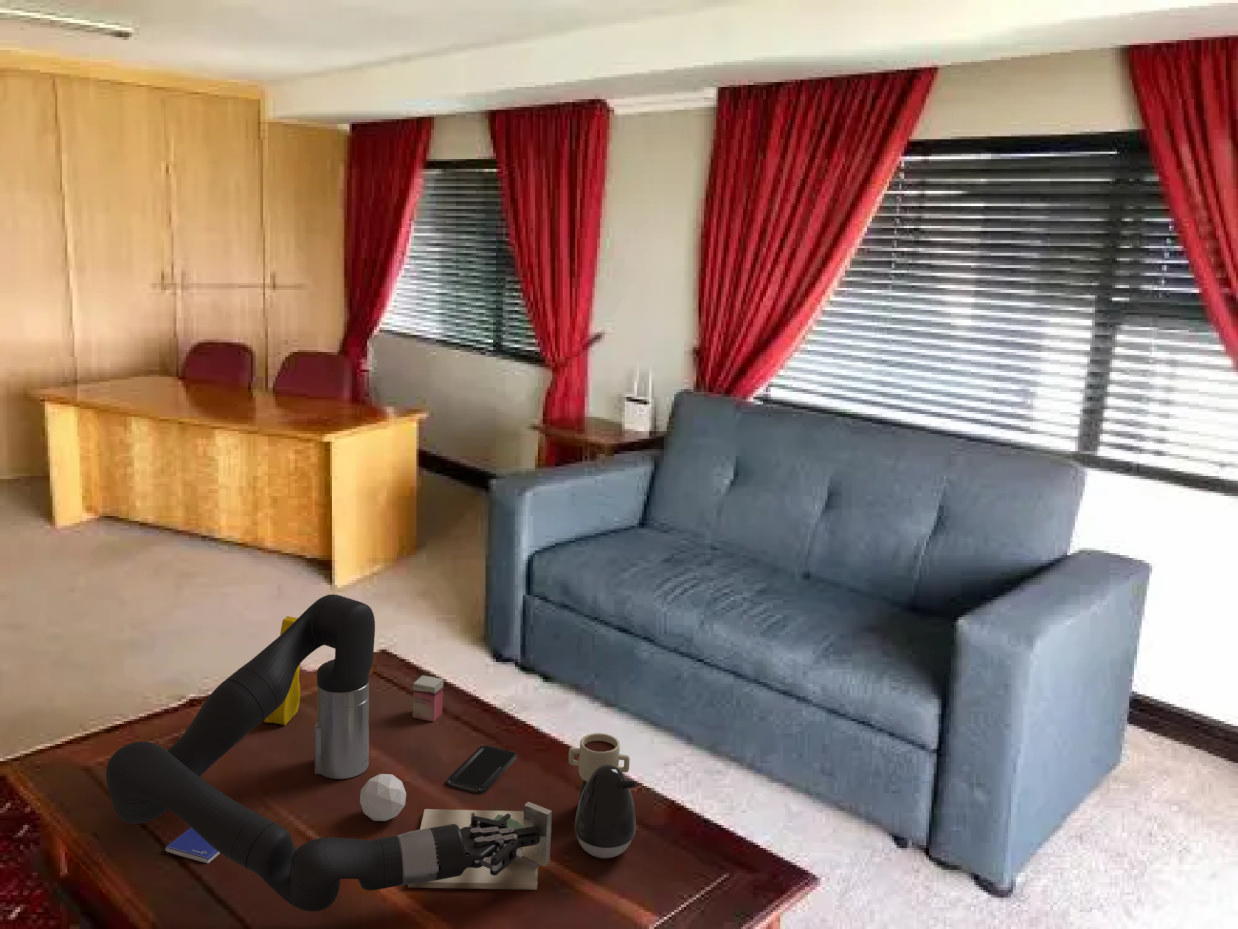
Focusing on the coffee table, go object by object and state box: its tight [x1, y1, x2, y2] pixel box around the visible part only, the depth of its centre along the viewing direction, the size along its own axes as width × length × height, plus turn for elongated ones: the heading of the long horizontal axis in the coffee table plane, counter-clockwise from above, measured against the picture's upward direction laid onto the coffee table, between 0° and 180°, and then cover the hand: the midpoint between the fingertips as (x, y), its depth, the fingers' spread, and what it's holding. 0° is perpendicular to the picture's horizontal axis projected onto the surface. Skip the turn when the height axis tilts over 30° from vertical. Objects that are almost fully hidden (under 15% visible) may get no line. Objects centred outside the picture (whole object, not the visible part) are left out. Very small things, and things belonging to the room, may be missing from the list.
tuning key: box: [498, 801, 553, 870], centre depth 167 cm, size 16×11×11 cm
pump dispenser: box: [574, 765, 638, 859], centre depth 170 cm, size 10×10×15 cm
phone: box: [446, 744, 517, 795], centre depth 193 cm, size 8×1×15 cm
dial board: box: [407, 808, 539, 891], centre depth 169 cm, size 20×20×1 cm
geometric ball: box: [359, 773, 407, 822], centre depth 176 cm, size 8×8×8 cm
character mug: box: [568, 732, 631, 802], centre depth 181 cm, size 11×7×13 cm, turn 81°
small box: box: [412, 674, 444, 723], centre depth 212 cm, size 5×4×8 cm
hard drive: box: [164, 827, 221, 864], centre depth 168 cm, size 2×8×12 cm
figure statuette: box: [262, 616, 302, 726], centre depth 205 cm, size 18×8×22 cm, turn 173°
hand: (538, 835), depth 160 cm, fingers closed
